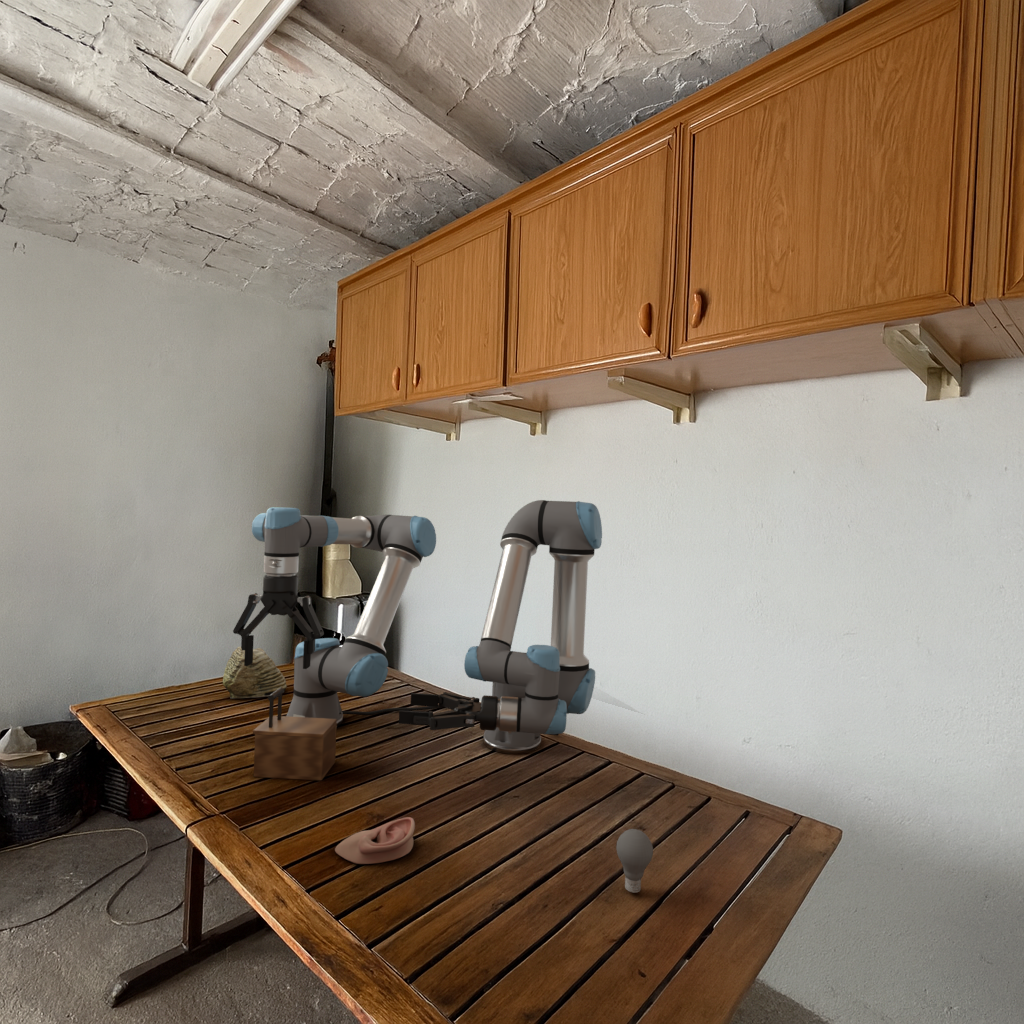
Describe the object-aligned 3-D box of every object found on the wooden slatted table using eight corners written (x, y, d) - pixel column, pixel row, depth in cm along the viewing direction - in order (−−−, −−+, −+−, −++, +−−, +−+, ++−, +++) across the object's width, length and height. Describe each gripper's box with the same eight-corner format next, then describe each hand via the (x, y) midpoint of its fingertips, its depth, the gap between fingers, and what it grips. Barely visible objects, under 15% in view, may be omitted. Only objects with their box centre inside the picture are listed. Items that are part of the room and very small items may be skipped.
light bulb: (610, 879, 108) (613, 822, 108) (644, 879, 109) (647, 822, 109) (619, 902, 102) (622, 840, 102) (655, 901, 103) (658, 840, 103)
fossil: (218, 695, 195) (220, 647, 195) (278, 685, 208) (279, 640, 207) (228, 703, 189) (230, 653, 188) (289, 692, 201) (290, 645, 201)
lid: (252, 734, 142) (254, 697, 141) (271, 718, 152) (272, 684, 151) (322, 738, 141) (324, 700, 141) (336, 722, 151) (338, 687, 151)
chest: (253, 776, 142) (255, 734, 142) (271, 758, 152) (273, 719, 152) (321, 780, 141) (322, 738, 141) (335, 762, 151) (336, 722, 151)
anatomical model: (327, 836, 111) (356, 806, 122) (326, 858, 111) (355, 826, 122) (398, 848, 108) (421, 815, 119) (397, 871, 108) (420, 836, 119)
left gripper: (219, 573, 142) (216, 667, 143) (329, 578, 142) (325, 673, 142) (235, 570, 150) (232, 659, 150) (339, 575, 149) (336, 664, 150)
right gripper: (494, 750, 131) (392, 743, 132) (499, 713, 156) (414, 707, 157) (495, 713, 131) (394, 707, 132) (501, 682, 156) (416, 677, 157)
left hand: (277, 666), depth 146 cm, fingers open, 13 cm apart
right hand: (405, 707), depth 145 cm, fingers open, 13 cm apart
